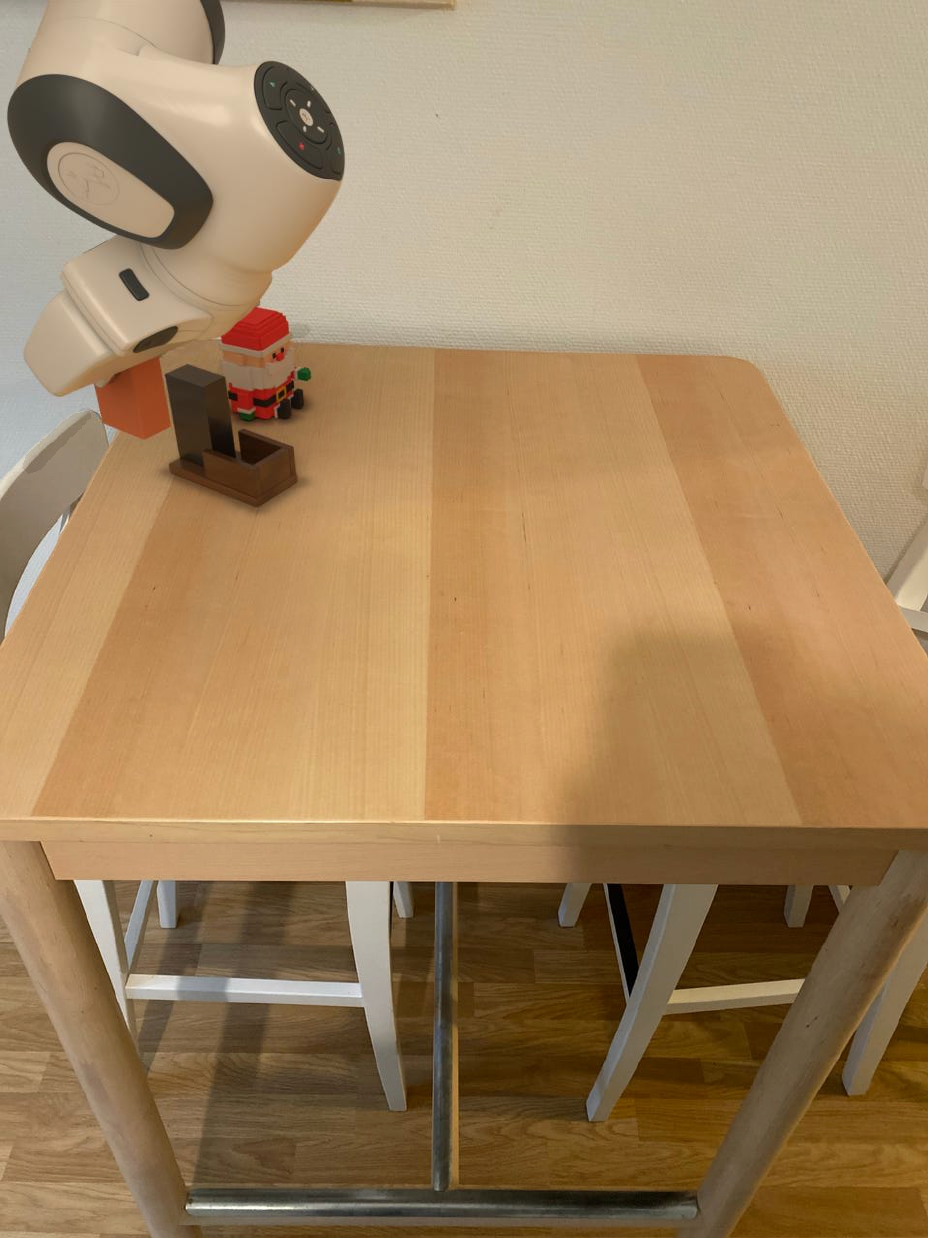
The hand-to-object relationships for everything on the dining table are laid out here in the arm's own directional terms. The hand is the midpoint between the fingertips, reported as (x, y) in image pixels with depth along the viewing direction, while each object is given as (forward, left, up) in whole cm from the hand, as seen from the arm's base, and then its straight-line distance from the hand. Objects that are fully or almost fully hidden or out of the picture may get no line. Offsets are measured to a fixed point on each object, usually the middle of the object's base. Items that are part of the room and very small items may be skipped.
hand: (120, 368), depth 74 cm
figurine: (+10, +24, -16) cm, 31 cm away
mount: (+7, +9, -16) cm, 19 cm away
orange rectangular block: (0, 0, -5) cm, 5 cm away
